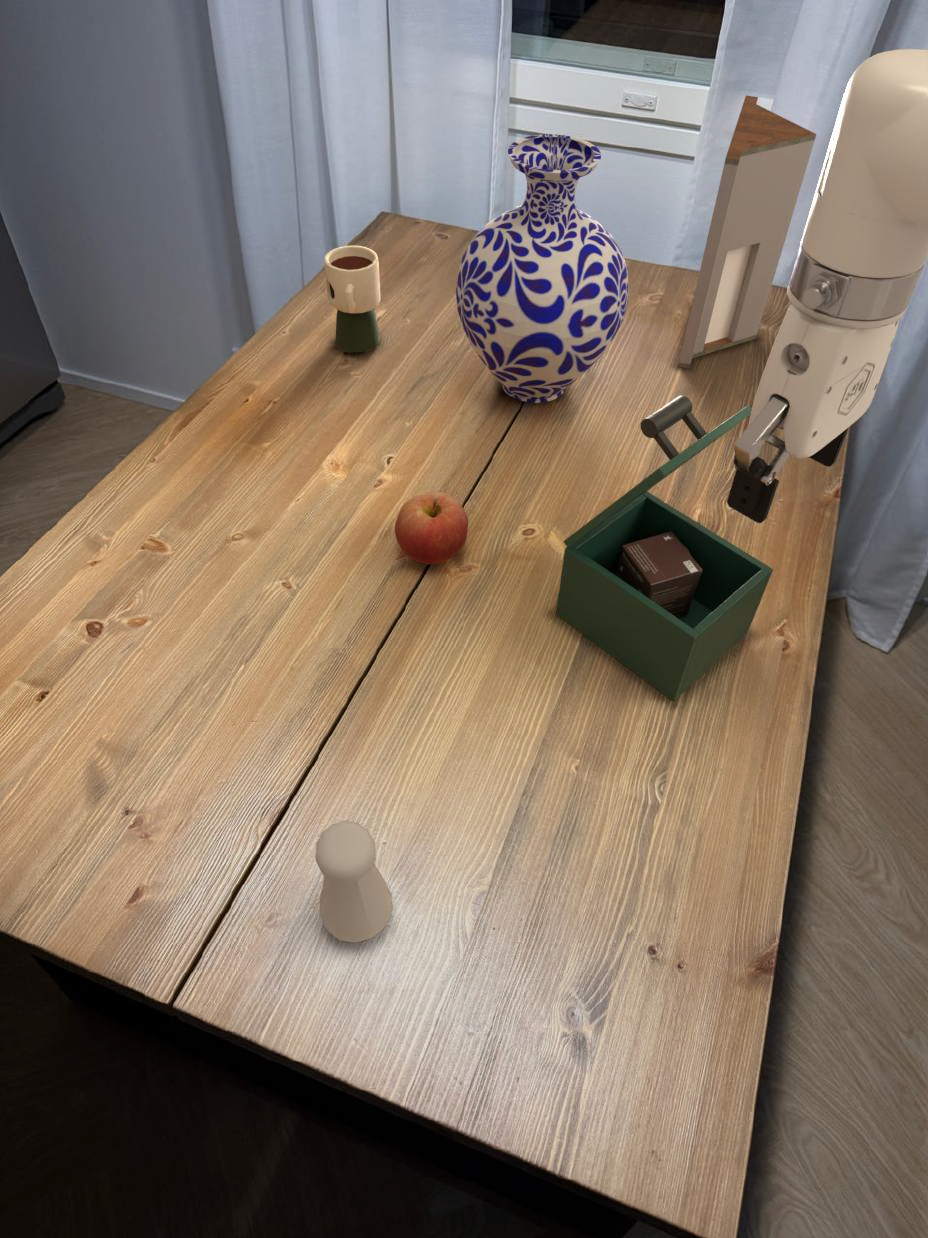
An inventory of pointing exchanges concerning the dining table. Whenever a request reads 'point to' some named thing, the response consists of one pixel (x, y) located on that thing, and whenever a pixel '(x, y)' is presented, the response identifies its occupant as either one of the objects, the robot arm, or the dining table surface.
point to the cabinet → (746, 229)
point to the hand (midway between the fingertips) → (781, 484)
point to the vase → (543, 277)
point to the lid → (654, 429)
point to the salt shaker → (351, 883)
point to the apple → (431, 527)
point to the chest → (637, 623)
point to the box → (661, 572)
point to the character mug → (354, 296)
